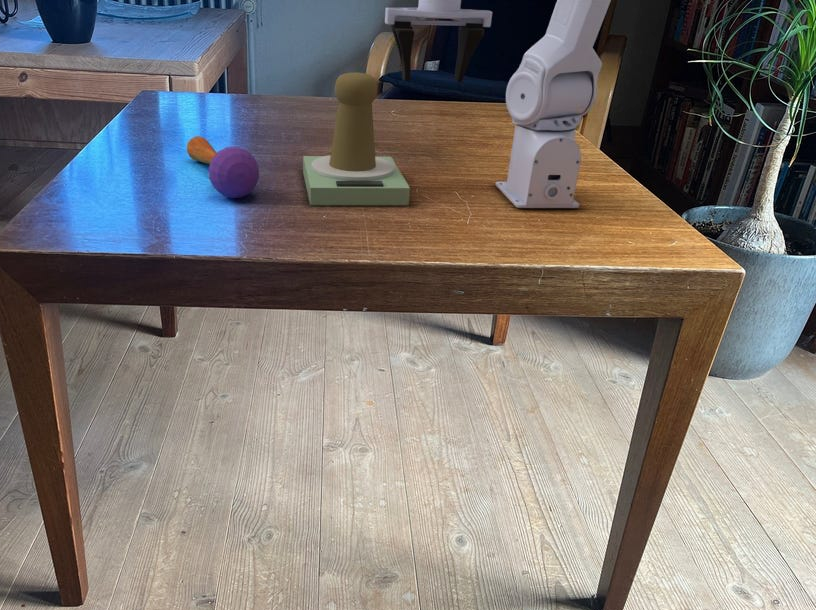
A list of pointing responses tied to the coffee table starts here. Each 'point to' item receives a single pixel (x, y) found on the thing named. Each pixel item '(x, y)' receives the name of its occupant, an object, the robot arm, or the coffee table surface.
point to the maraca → (226, 167)
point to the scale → (354, 183)
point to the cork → (354, 123)
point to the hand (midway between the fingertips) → (432, 80)
